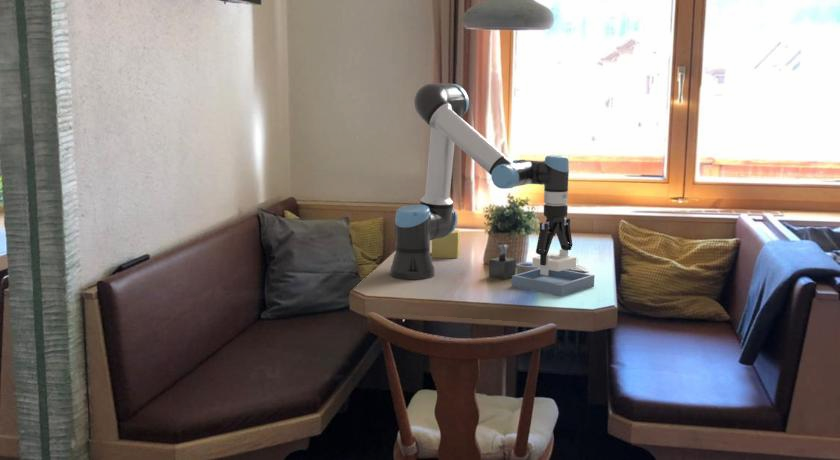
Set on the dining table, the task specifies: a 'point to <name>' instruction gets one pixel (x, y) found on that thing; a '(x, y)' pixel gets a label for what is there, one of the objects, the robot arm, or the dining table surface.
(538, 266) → the ring
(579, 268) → the pincushion
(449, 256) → the cheese
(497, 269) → the grey block with post
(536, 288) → the tray
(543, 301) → the dining table surface
